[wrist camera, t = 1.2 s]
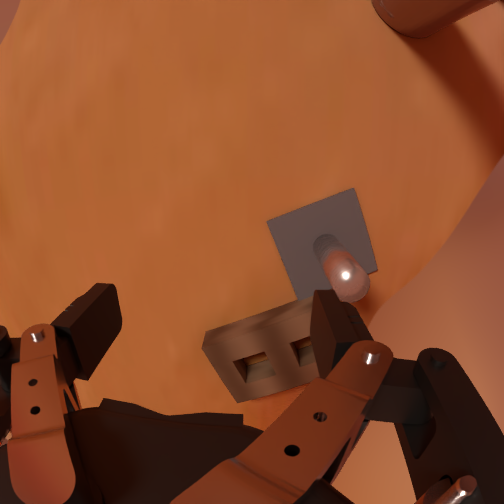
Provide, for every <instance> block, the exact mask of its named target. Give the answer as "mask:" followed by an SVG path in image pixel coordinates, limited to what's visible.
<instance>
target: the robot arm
mask: <svg viewBox="0 0 504 504" xmlns="http://www.w3.org/2000/svg"><path fill="white" fill-rule="evenodd" d="M497 1H499V0H372V4H373V6H374V8H375V10H376V11H377V13H378V14H379V16H380V17H381V18H382V19H383V20H384V21H385V22H386V23H387V24H388V25H389V26H390V27H392V28H393V29H395V30H396V31H398V32H399V33H402V34H404V35H406V36H409V37H413V38H425V37H428V36H430V35H432V34H433V33H435V32H437V31H439V30H441V29H443V28H445V27H447V26H449V25H450V24H452V23H454V22H456V21H458V20H460V19H462V18H464V17H466V16H468V15H470V14H472V13H474V12H476V11H478V10H480V9H482V8H484V7H487V6H489V5H491V4H493V3H495V2H497ZM121 327H122V316H121V311H120V306H119V301H118V295H117V290H116V287H115V285H114V284H106V283H96V284H95V285H94V286H93V287H92V288H91V289H90V290H89V291H88V292H86V293H85V294H84V295H82V296H80V297H78V298H77V299H76V300H74V301H73V302H72V303H71V304H70V306H68V307H67V308H66V309H65V311H63V312H62V313H61V314H60V315H59V316H58V317H57V318H56V319H55V320H54V321H53V322H52V323H51V324H50V325H49V324H37V325H34V326H31V327H29V328H28V329H26V330H25V331H24V332H23V334H22V336H21V338H10V337H9V334H8V331H7V329H6V327H4V326H1V325H0V441H1V440H2V438H3V436H4V434H5V433H6V431H7V429H8V428H9V426H10V424H11V423H12V438H11V439H9V440H8V443H7V444H5V445H3V446H1V447H0V504H354V503H353V502H351V501H350V500H349V499H348V498H347V497H345V496H344V495H343V494H342V493H340V492H339V491H338V490H336V489H335V488H334V487H333V486H332V485H331V484H332V483H333V482H334V480H335V479H336V477H337V476H338V474H339V472H340V471H341V469H342V467H343V466H344V464H345V462H346V460H347V458H348V457H349V456H350V454H351V452H352V451H353V449H354V448H355V446H356V444H357V443H358V441H359V439H360V438H361V436H362V434H363V433H364V431H365V429H366V427H367V426H368V424H369V422H370V420H375V421H383V422H392V423H394V425H395V428H396V431H397V434H398V438H399V441H400V444H401V447H402V450H403V454H404V457H405V460H406V464H407V467H408V470H409V474H410V478H411V481H412V485H413V488H414V492H415V495H416V500H417V501H416V502H415V503H414V504H504V435H503V433H502V431H501V429H500V428H499V426H498V424H497V423H496V421H495V419H494V417H493V416H492V414H491V412H490V411H489V409H488V407H487V406H486V404H485V403H484V401H483V399H482V398H481V396H480V394H479V393H478V392H477V390H476V388H475V387H474V385H473V384H472V382H471V381H470V379H469V377H468V376H467V374H466V373H465V371H464V370H463V368H462V367H461V365H460V364H459V363H458V361H457V360H456V358H455V357H454V356H453V355H452V354H451V353H449V352H447V351H445V350H443V349H439V348H427V349H424V350H422V351H421V352H420V353H419V356H418V359H417V361H413V360H404V359H397V358H393V353H392V351H391V350H390V348H388V347H387V346H386V345H384V344H382V343H380V342H376V341H374V340H373V338H372V336H371V334H370V333H369V331H368V329H367V327H366V325H365V324H364V323H363V320H362V318H361V317H360V315H359V313H358V311H357V309H356V308H355V307H354V306H352V305H351V304H350V303H348V302H340V300H339V298H338V296H337V294H336V292H335V290H315V291H314V295H313V304H312V313H311V322H310V340H311V344H312V348H313V352H314V356H315V360H316V364H317V368H318V372H319V376H320V377H316V378H315V379H314V380H313V381H312V382H311V383H310V384H309V385H308V386H307V387H306V388H305V390H304V391H303V392H302V393H301V394H300V395H299V396H298V397H297V398H296V399H295V400H294V401H293V403H292V404H291V405H290V406H289V407H288V408H287V409H286V410H285V411H284V412H283V413H282V414H281V415H280V416H279V417H278V418H277V419H276V420H275V421H274V422H273V423H272V424H271V425H270V426H269V427H268V428H267V429H266V430H265V431H262V430H260V429H257V428H254V427H251V426H247V425H243V414H225V413H208V412H204V413H194V414H184V415H171V416H168V415H163V414H160V413H157V412H154V411H152V410H149V409H146V408H144V407H141V406H139V405H136V404H133V403H127V402H122V401H117V400H112V399H107V398H103V400H102V402H101V404H100V406H99V407H92V408H85V409H82V407H81V403H80V400H79V396H78V392H77V388H76V386H75V383H74V380H75V378H78V379H82V380H87V381H88V380H89V378H90V377H91V375H92V373H93V372H94V370H95V369H96V367H97V366H98V364H99V363H100V361H101V359H102V358H103V356H104V355H105V353H106V352H107V350H108V349H109V347H110V346H111V344H112V343H113V341H114V340H115V338H116V337H117V335H118V334H119V332H120V331H121Z"/></svg>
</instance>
